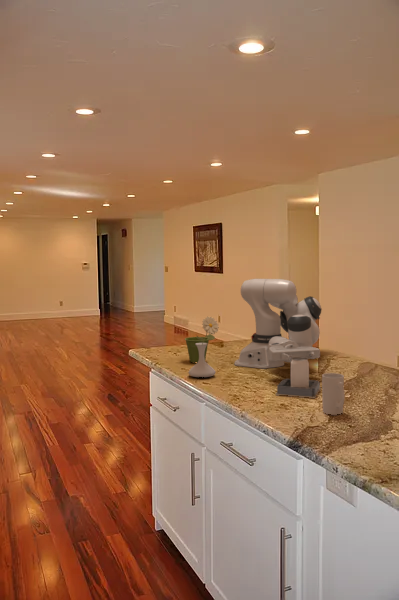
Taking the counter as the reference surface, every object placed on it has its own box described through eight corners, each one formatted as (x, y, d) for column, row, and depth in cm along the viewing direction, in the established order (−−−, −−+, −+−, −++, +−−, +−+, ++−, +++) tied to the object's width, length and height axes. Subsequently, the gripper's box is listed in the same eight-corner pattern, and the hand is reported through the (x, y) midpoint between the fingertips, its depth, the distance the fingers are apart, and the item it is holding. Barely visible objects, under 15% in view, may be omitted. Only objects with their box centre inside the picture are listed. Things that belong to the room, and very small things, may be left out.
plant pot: (214, 363, 251) (213, 339, 250) (190, 365, 247) (189, 341, 246) (204, 358, 262) (204, 335, 261) (181, 361, 258) (181, 337, 257)
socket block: (275, 395, 194) (275, 386, 194) (283, 385, 207) (283, 378, 207) (314, 398, 189) (314, 389, 189) (321, 388, 202) (321, 380, 202)
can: (307, 393, 193) (307, 360, 192) (289, 392, 196) (289, 359, 195) (310, 389, 199) (310, 357, 198) (292, 388, 202) (292, 356, 201)
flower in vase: (192, 380, 218) (191, 319, 216) (185, 374, 229) (184, 316, 227) (223, 378, 222) (222, 317, 220) (214, 372, 233) (214, 314, 231)
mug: (318, 410, 175) (318, 373, 174) (336, 408, 177) (336, 372, 176) (333, 419, 166) (333, 381, 165) (353, 417, 167) (353, 379, 166)
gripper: (312, 357, 223) (326, 363, 210) (264, 359, 219) (276, 367, 205) (312, 342, 223) (327, 347, 209) (264, 344, 218) (276, 350, 205)
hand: (301, 357), depth 207 cm, fingers open, 8 cm apart
